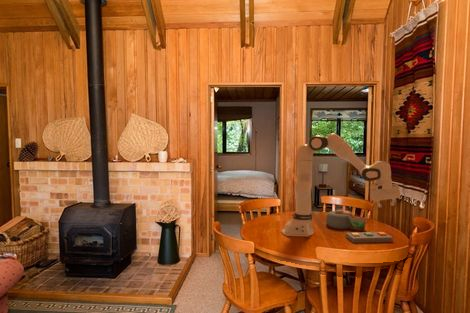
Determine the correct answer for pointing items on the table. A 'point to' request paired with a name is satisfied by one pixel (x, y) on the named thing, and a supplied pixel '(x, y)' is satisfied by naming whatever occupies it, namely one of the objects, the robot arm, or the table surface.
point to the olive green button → (368, 234)
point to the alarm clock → (339, 219)
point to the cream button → (355, 234)
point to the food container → (357, 223)
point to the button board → (369, 238)
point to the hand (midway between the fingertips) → (386, 206)
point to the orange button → (381, 233)
